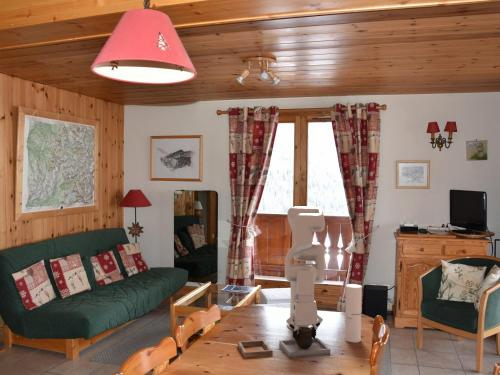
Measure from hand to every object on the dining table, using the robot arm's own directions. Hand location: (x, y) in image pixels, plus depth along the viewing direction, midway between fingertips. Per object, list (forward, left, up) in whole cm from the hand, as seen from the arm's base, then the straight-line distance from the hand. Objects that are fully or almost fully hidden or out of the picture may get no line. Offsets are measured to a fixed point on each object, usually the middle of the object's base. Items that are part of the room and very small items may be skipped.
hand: (304, 338), depth 194 cm
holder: (-4, -21, -5) cm, 22 cm away
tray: (0, 0, -5) cm, 5 cm away
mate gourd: (0, 0, -4) cm, 4 cm away
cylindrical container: (-8, +27, -5) cm, 29 cm away
